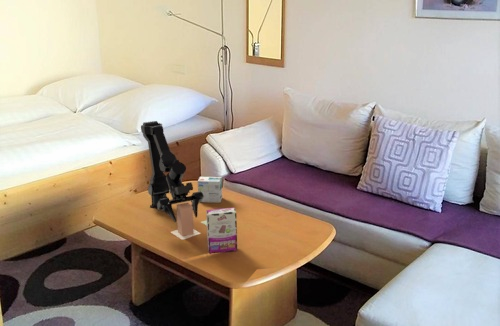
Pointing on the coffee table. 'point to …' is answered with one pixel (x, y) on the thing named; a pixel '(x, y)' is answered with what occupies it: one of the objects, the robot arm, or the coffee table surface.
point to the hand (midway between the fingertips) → (186, 219)
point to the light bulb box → (210, 189)
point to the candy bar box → (221, 230)
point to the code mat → (188, 235)
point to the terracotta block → (185, 219)
